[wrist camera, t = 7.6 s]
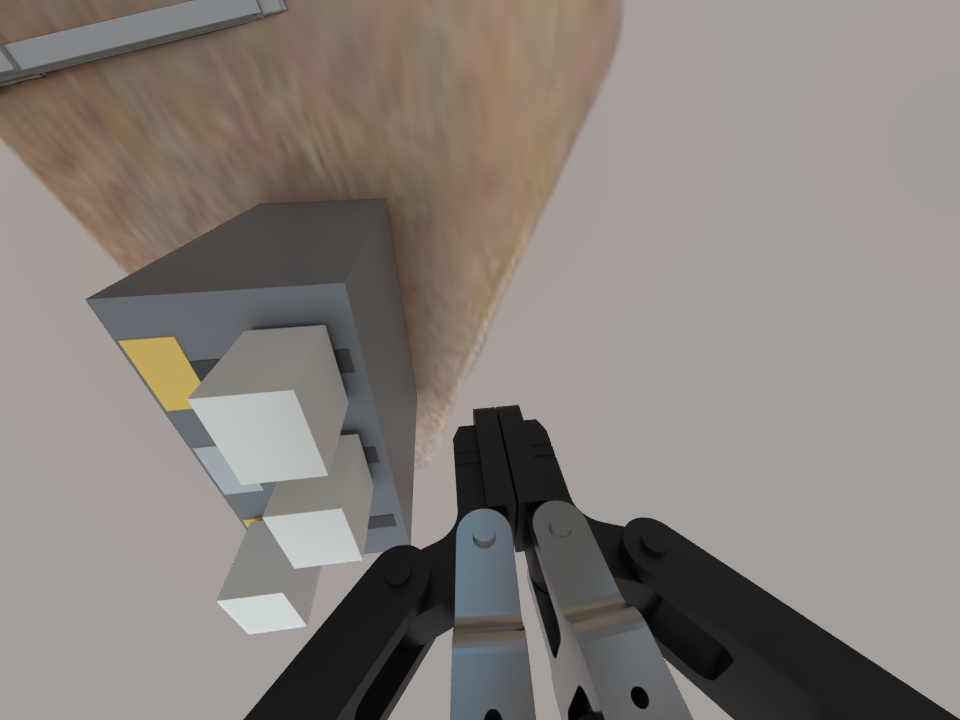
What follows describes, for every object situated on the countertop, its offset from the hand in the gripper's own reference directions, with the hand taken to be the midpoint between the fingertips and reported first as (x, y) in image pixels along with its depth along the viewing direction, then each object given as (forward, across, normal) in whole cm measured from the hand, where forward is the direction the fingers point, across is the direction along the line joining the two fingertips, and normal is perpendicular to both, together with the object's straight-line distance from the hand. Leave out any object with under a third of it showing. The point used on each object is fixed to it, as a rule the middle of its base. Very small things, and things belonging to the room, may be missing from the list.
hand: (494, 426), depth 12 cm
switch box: (+21, +10, +6) cm, 24 cm away
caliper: (+21, +19, -12) cm, 31 cm away
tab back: (+4, +12, +12) cm, 17 cm away
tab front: (+4, +7, 0) cm, 9 cm away
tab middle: (+4, +8, +6) cm, 11 cm away
